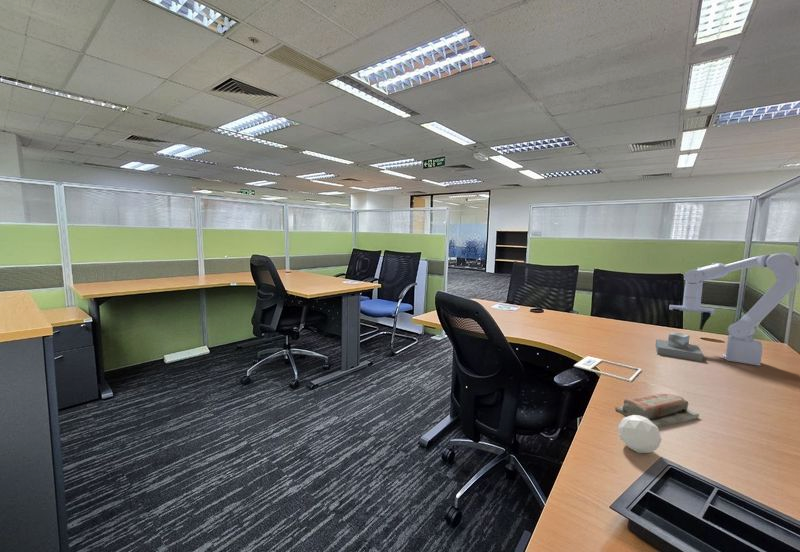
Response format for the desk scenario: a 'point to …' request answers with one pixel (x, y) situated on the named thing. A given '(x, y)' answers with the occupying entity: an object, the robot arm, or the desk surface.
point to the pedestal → (679, 351)
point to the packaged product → (659, 409)
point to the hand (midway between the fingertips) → (689, 327)
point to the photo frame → (592, 362)
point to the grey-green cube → (678, 340)
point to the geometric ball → (639, 434)
